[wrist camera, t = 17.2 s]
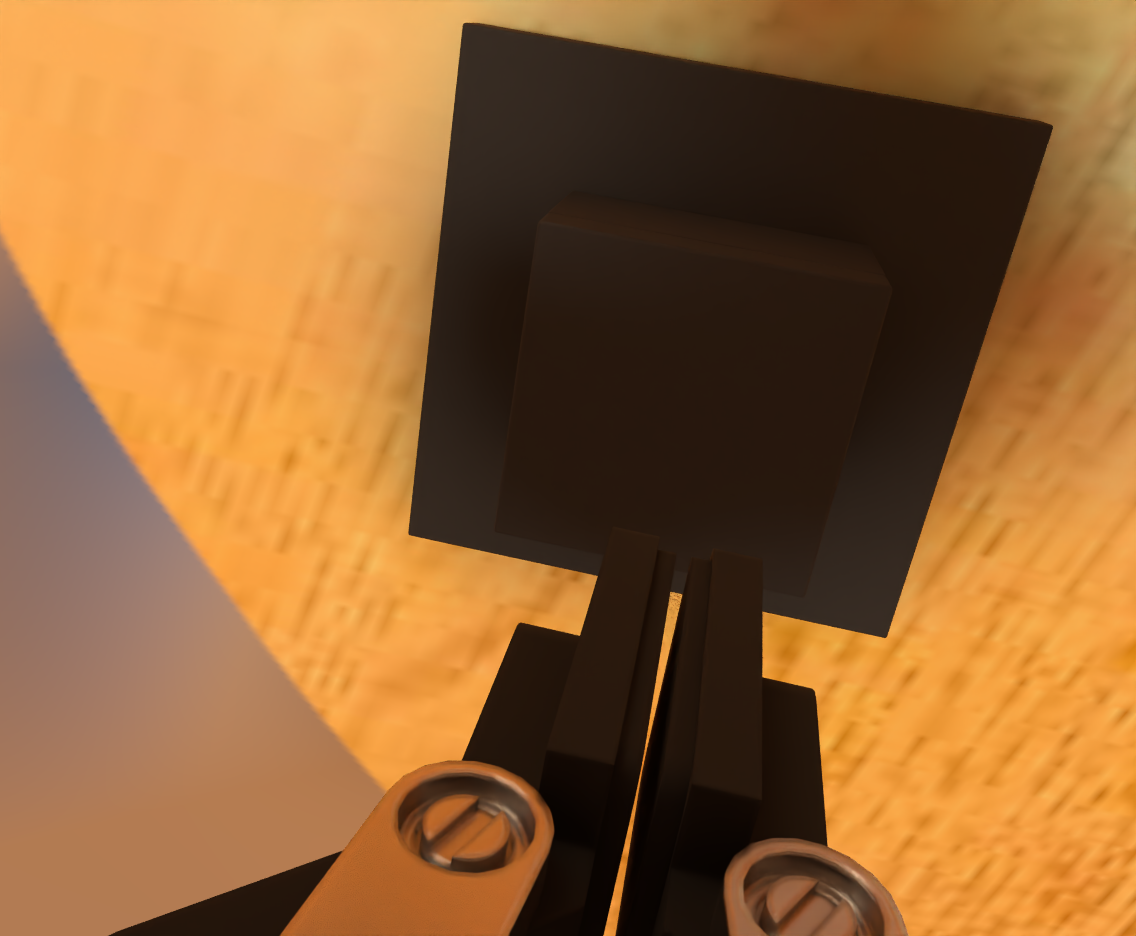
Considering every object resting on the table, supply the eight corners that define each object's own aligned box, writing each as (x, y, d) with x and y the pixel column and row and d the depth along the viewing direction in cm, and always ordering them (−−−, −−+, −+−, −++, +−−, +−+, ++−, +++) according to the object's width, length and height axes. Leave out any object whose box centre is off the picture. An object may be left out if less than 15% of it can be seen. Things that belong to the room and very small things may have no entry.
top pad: (870, 245, 22) (894, 287, 19) (796, 516, 25) (805, 600, 21) (571, 189, 23) (537, 220, 19) (529, 460, 25) (492, 533, 22)
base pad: (1039, 120, 22) (1084, 134, 19) (881, 614, 27) (897, 685, 24) (476, 22, 23) (436, 21, 20) (420, 515, 28) (382, 573, 25)
